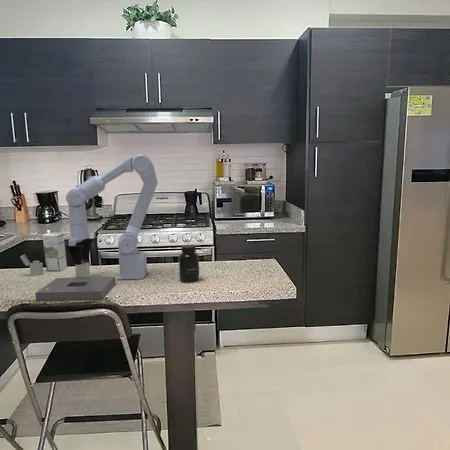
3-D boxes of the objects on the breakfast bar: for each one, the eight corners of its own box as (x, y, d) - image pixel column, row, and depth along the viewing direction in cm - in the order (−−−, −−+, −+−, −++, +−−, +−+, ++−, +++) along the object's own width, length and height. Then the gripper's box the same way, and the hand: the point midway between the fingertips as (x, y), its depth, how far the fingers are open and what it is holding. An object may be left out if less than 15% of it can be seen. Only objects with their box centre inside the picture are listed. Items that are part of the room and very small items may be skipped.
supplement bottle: (191, 283, 132) (190, 248, 130) (175, 281, 135) (174, 246, 133) (203, 278, 137) (202, 245, 135) (187, 275, 141) (186, 243, 139)
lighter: (43, 273, 149) (41, 253, 148) (42, 274, 148) (40, 254, 146) (23, 275, 148) (21, 254, 147) (22, 276, 146) (19, 255, 145)
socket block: (115, 283, 134) (115, 276, 134) (101, 299, 119) (100, 290, 119) (57, 285, 134) (56, 277, 134) (36, 300, 119) (35, 292, 119)
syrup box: (67, 267, 157) (64, 231, 155) (59, 271, 151) (56, 234, 149) (53, 267, 158) (50, 231, 155) (45, 271, 152) (42, 234, 150)
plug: (90, 278, 141) (88, 259, 140) (87, 280, 138) (86, 261, 137) (79, 279, 141) (77, 259, 140) (76, 281, 138) (74, 261, 137)
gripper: (75, 220, 143) (78, 256, 146) (58, 227, 129) (61, 267, 131) (94, 220, 143) (97, 256, 146) (79, 226, 129) (82, 267, 131)
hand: (81, 261), depth 138 cm, fingers open, 7 cm apart
